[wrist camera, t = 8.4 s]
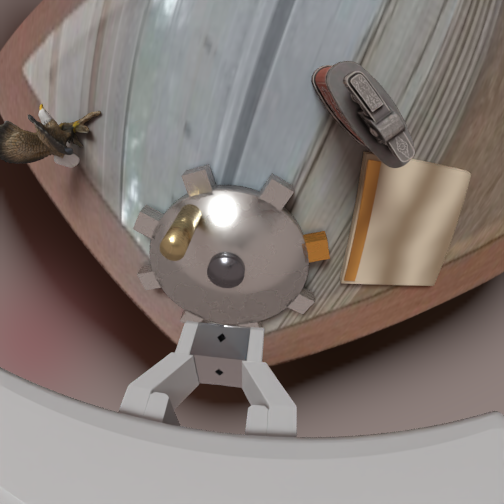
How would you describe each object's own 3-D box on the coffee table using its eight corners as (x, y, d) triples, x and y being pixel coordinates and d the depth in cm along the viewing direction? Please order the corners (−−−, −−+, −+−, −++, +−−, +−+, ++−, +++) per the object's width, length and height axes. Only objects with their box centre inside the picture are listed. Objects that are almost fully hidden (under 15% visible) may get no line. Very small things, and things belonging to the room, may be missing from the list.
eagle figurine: (84, 79, 22) (22, 90, 14) (115, 137, 25) (61, 166, 18) (38, 121, 24) (-20, 146, 16) (67, 174, 27) (14, 211, 20)
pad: (466, 170, 24) (472, 174, 23) (430, 280, 32) (434, 286, 31) (363, 151, 25) (367, 154, 24) (339, 277, 32) (341, 284, 31)
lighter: (387, 130, 23) (441, 162, 15) (358, 151, 25) (400, 192, 16) (332, 57, 21) (368, 47, 12) (301, 79, 22) (321, 80, 13)
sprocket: (272, 125, 24) (273, 143, 17) (350, 292, 33) (364, 343, 26) (104, 222, 30) (68, 261, 23) (202, 342, 39) (192, 389, 32)
